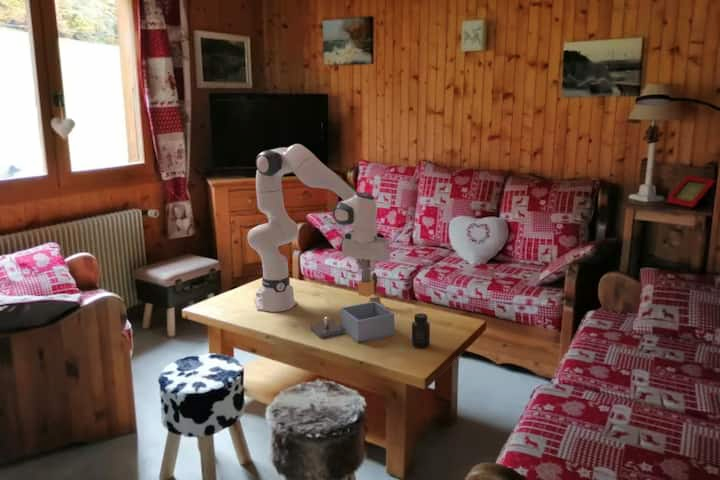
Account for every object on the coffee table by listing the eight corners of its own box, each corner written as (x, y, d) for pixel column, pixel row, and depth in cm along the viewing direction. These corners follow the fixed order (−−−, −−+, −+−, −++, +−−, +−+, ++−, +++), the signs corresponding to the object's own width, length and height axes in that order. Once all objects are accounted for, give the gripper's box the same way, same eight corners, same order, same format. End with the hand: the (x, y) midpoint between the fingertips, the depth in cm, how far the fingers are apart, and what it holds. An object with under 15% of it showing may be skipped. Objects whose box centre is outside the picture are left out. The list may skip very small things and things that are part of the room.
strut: (364, 291, 234) (364, 256, 231) (374, 293, 232) (373, 258, 228) (358, 295, 231) (358, 259, 227) (368, 296, 228) (367, 260, 225)
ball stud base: (310, 329, 238) (310, 315, 237) (333, 325, 243) (332, 310, 241) (320, 338, 230) (319, 323, 228) (343, 333, 234) (343, 318, 232)
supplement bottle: (433, 344, 223) (433, 314, 220) (422, 350, 218) (423, 320, 215) (418, 339, 227) (419, 310, 224) (408, 345, 222) (408, 315, 219)
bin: (340, 328, 239) (339, 308, 237) (375, 321, 246) (374, 301, 243) (358, 343, 225) (357, 321, 223) (394, 335, 232) (394, 313, 230)
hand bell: (361, 307, 263) (361, 272, 259) (375, 302, 268) (375, 269, 264) (374, 312, 257) (373, 277, 253) (388, 307, 262) (387, 273, 258)
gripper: (393, 236, 223) (393, 271, 226) (348, 230, 233) (349, 264, 237) (384, 240, 217) (384, 275, 221) (339, 234, 228) (340, 268, 232)
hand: (366, 269), depth 229 cm, fingers closed on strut, 4 cm apart
